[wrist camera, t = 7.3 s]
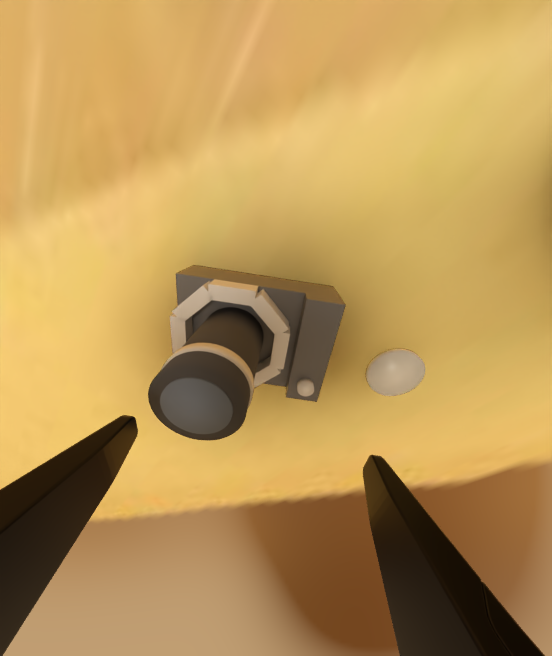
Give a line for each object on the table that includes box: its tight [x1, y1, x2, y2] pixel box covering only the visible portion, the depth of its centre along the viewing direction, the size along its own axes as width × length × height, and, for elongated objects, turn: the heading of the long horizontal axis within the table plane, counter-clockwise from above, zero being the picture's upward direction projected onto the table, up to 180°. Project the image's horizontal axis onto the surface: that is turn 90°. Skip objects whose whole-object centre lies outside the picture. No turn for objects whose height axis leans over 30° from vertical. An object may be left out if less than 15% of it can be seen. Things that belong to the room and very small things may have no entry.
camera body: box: [170, 265, 345, 402], centre depth 17 cm, size 11×8×5 cm
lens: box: [148, 307, 263, 440], centre depth 13 cm, size 5×5×7 cm
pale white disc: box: [366, 349, 425, 396], centre depth 20 cm, size 5×5×1 cm
